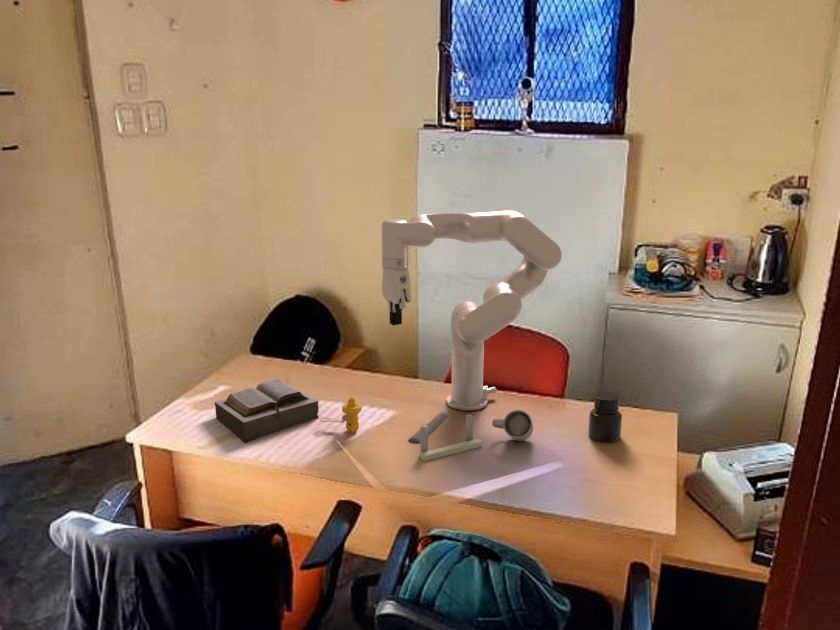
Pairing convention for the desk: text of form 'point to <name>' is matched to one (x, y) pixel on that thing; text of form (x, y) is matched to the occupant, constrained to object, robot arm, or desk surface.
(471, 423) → the peg rack
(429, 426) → the half round rod
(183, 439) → the desk surface
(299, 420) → the bible
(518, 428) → the ceramic mug
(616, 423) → the ink bottle
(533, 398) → the desk surface
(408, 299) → the robot arm
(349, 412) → the pressure relief valve
